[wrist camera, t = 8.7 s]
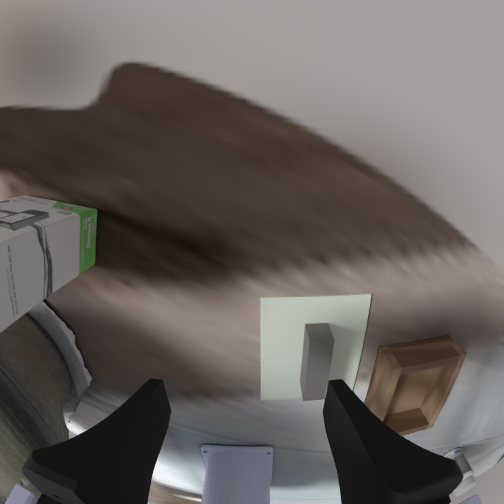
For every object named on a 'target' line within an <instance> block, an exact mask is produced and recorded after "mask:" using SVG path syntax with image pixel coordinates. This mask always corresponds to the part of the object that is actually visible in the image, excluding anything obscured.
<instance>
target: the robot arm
mask: <svg viewBox="0 0 504 504" xmlns="http://www.w3.org/2000/svg"><path fill="white" fill-rule="evenodd" d="M170 414H171V408H170V405H169V401H168V398H167V394H166V391H165V387H164V383H163V380H159V379H149V380H148V381H147V382H146V383H145V384H144V385H143V386H142V387H141V388H140V389H139V390H138V391H137V392H135V393H134V394H133V395H132V396H131V397H130V398H129V399H128V400H127V401H126V402H125V403H124V404H122V405H121V406H120V407H119V408H118V409H117V410H115V411H114V412H113V413H112V414H111V415H109V416H108V417H107V418H105V419H104V420H103V421H101V422H100V423H98V424H97V425H95V426H94V427H92V428H90V429H89V430H87V431H85V432H83V433H81V434H79V435H77V436H75V437H73V438H71V439H69V440H66V441H64V442H61V443H58V444H56V445H53V446H49V447H45V448H42V449H38V450H33V452H32V453H31V455H30V456H29V458H28V459H27V461H26V463H25V464H24V466H23V467H22V472H23V474H24V476H25V477H26V478H27V479H28V480H29V481H30V482H31V483H32V484H33V485H34V486H35V487H36V488H37V489H38V490H39V491H40V492H41V493H42V494H41V496H40V497H38V496H37V495H36V494H34V493H33V492H31V491H29V490H27V489H26V488H24V487H22V486H21V485H19V484H16V485H15V487H14V489H13V490H12V492H11V494H10V496H9V497H8V499H7V501H6V503H5V504H147V503H148V496H149V490H150V484H151V479H152V474H153V470H154V467H155V464H156V461H157V458H158V455H159V452H160V449H161V447H162V444H163V441H164V438H165V435H166V432H167V429H168V424H169V419H170ZM323 416H324V423H325V430H326V434H327V437H328V441H329V444H330V448H331V451H332V455H333V458H334V462H335V465H336V469H337V473H338V479H339V486H340V494H341V503H342V504H449V503H450V502H451V500H450V498H449V494H451V493H452V492H453V491H454V490H455V489H456V488H457V487H458V485H459V484H460V483H461V482H462V480H463V477H464V476H463V474H462V472H461V470H460V467H459V466H458V464H457V463H456V461H455V460H453V459H450V458H447V457H444V456H441V455H438V454H435V453H433V452H430V451H428V450H426V449H424V448H422V447H420V446H418V445H416V444H414V443H412V442H411V441H409V440H407V439H405V438H404V437H402V436H401V435H399V434H398V433H396V432H395V431H394V430H392V429H391V428H390V427H388V426H387V425H386V424H385V423H384V422H382V421H381V420H380V419H379V418H378V417H377V416H376V415H375V414H374V413H373V412H372V411H371V410H370V409H369V408H368V407H367V406H366V405H365V404H364V403H363V402H362V401H361V400H360V399H359V398H358V397H357V396H356V394H355V393H354V392H353V391H352V390H351V389H350V387H349V386H348V385H347V384H346V383H345V381H344V380H343V379H336V380H328V386H327V392H326V397H325V403H324V408H323ZM200 450H201V453H202V457H203V460H204V464H205V467H206V475H205V481H204V488H203V494H202V501H201V504H270V484H271V483H272V467H273V447H270V446H262V447H243V446H216V445H201V447H200ZM459 504H482V503H481V500H480V498H479V496H478V495H474V496H472V497H471V498H468V499H466V500H465V501H463V502H461V503H459Z"/></svg>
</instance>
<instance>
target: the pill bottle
mask: <svg viewBox="0 0 504 504" xmlns="http://www.w3.org/2000/svg"><path fill="white" fill-rule="evenodd" d="M444 457H447V458H450V459H453V460H455V461H456V463H457V464H458V466H459V467H460V470H461V472H462V474H463V476H464V477H463V480H462V482H461V483H460V484H459V485H458V487H457V488H456V489H455V490H454V491H453V493H454V495H455V496H456V497H457V496H460V495H461V494H463V493H465V492H467V491H468V490H469V489H471V488H472V487H473V486H474V485H475V484H476V479H475V478H474V476H473V474H474V471H473V469H472V467H471V466H470V464H469V462H468V460H467V458H466V457H465V455H464V453H463V451H462V450H461V449H460V448H456V449H453V450H451V451H450V452H448V453H447V454H445V455H444ZM472 476H473V477H472Z"/></svg>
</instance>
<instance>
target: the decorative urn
mask: <svg viewBox="0 0 504 504" xmlns="http://www.w3.org/2000/svg"><path fill="white" fill-rule="evenodd" d="M55 315H56V314H55V313H54V312H53V311H52V310H51V309H50V308H49V307H48V306H47V305H46V303H44V302H43V301H41V302H40V303H39V304H37V305H36V306H35V307H33V308H32V309H31V310H29V311H28V312H27V313H25V314H24V315H23V316H21V317H20V318H19V319H18V320H16V321H15V322H14V323H12V324H11V325H10V326H9V327H7V328H6V329H5V330H4V331H2V332H1V333H0V504H5V503H6V501H7V499H8V497H9V496H10V494H11V492H12V490H13V489H14V487H15V485H16V484H19V485H21V486H22V487H24V488H26V489H27V490H29V491H31V492H33V493H34V494H36V495H37V496H38V497H40V496H41V494H42V493H41V492H40V491H39V490H38V489H37V488H36V487H35V486H34V485H33V484H32V483H31V482H30V481H29V480H28V479H27V478H26V477H25V476H24V474H23V472H22V467H23V466H24V464H25V463H26V461H27V459H28V458H29V456H30V455H31V453H32V452H33V450H38V449H42V448H45V447H49V446H53V445H56V444H58V443H61V442H64V441H66V440H69V435H68V434H69V430H68V428H67V426H66V424H68V422H69V420H70V418H71V416H73V413H74V410H75V411H76V409H75V408H77V407H76V406H78V404H79V403H80V402H81V401H80V399H82V397H81V396H82V394H84V392H86V390H85V389H86V388H88V386H89V384H90V383H89V382H91V380H92V377H91V376H90V373H89V372H87V371H88V369H86V368H85V367H84V362H83V359H82V356H81V354H80V352H79V350H78V349H77V347H76V345H75V335H74V334H73V332H72V331H71V330H70V329H69V328H67V326H66V325H65V323H64V322H63V321H61V319H60V318H58V316H57V315H56V316H55ZM79 401H80V402H79ZM70 415H71V416H70Z"/></svg>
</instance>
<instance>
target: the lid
mask: <svg viewBox="0 0 504 504" xmlns="http://www.w3.org/2000/svg"><path fill="white" fill-rule="evenodd" d="M371 295H372V294H371V293H365V294H345V295H319V296H282V297H261V400H292V399H303V401H306V400H320V399H325V397H326V392H327V386H328V380H336V379H343V380H344V381H345V383H346V384H347V385H348V386H349V387H350V389H351V390H352V391H353V387H354V383H355V379H356V374H357V370H358V366H359V361H360V357H361V352H362V347H363V342H364V337H365V331H366V326H367V320H368V314H369V308H370V302H371Z"/></svg>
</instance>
